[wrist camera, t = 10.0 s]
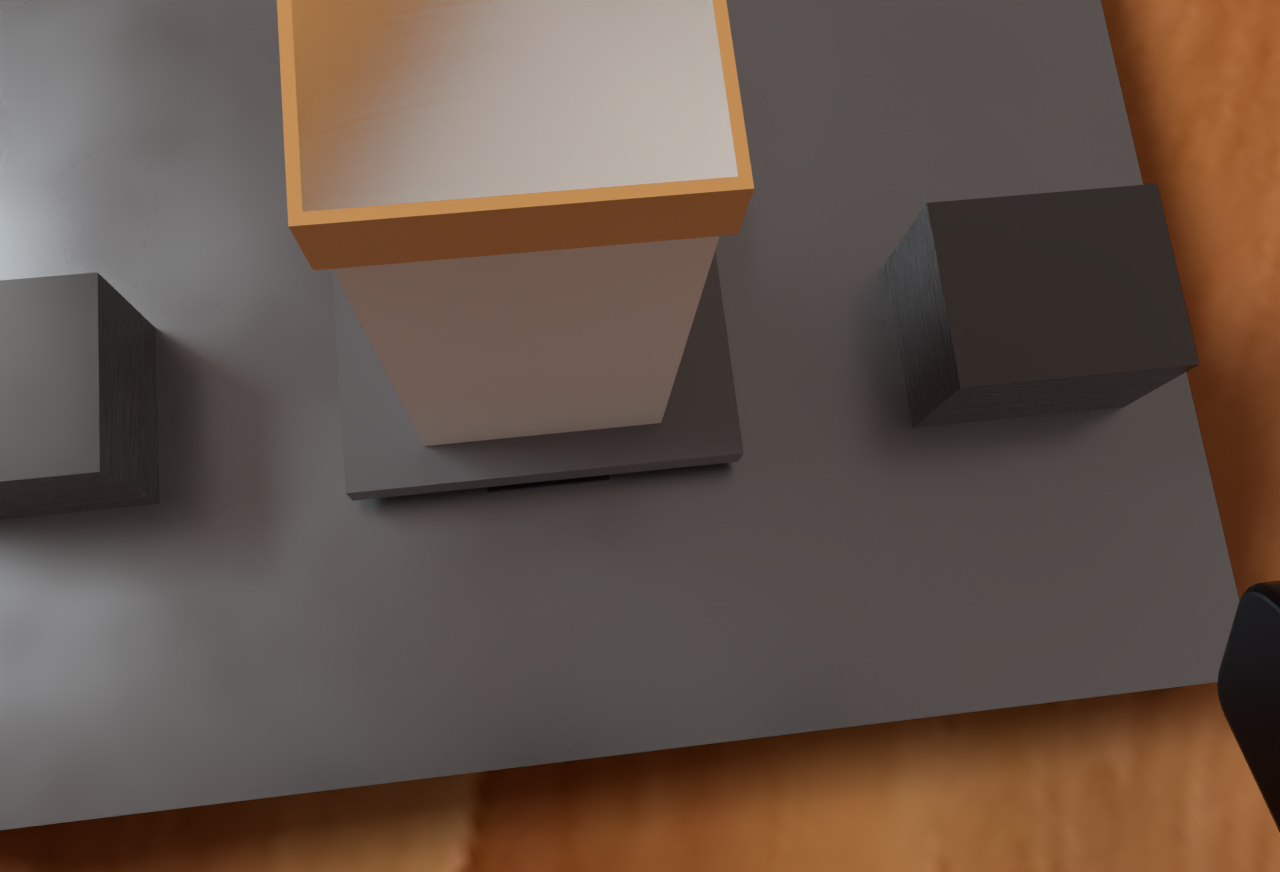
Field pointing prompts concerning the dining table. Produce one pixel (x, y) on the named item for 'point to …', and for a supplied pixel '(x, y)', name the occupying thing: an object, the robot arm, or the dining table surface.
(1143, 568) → the plate
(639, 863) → the dining table surface
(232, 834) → the dining table surface
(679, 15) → the handle
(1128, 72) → the dining table surface
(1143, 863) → the dining table surface
